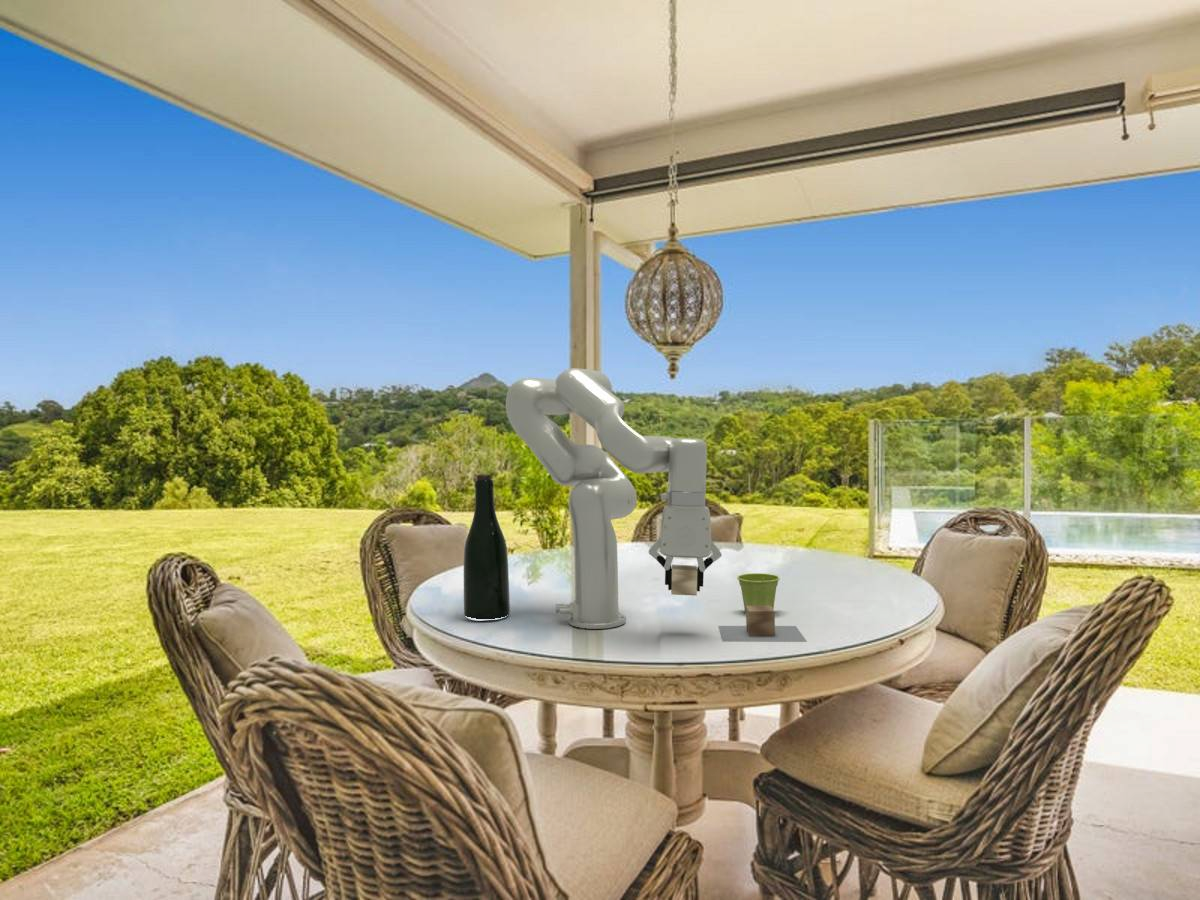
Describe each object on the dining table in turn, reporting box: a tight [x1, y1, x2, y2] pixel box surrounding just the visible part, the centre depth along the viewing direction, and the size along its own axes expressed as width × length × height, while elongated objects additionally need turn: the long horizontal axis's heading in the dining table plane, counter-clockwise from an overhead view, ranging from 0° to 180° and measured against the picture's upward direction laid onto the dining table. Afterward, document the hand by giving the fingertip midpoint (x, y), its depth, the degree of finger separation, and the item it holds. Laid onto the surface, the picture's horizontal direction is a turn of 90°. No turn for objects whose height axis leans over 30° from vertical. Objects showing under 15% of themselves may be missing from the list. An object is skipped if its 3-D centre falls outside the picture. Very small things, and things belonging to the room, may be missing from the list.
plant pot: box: [736, 572, 781, 614], centre depth 162 cm, size 9×9×9 cm
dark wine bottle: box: [463, 473, 511, 619], centre depth 166 cm, size 10×10×33 cm
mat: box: [718, 625, 808, 643], centre depth 145 cm, size 16×12×1 cm
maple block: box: [670, 564, 698, 597], centre depth 146 cm, size 5×5×5 cm
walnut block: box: [745, 606, 776, 637], centre depth 145 cm, size 5×5×5 cm
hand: (683, 588), depth 146 cm, fingers closed on maple block, 5 cm apart
